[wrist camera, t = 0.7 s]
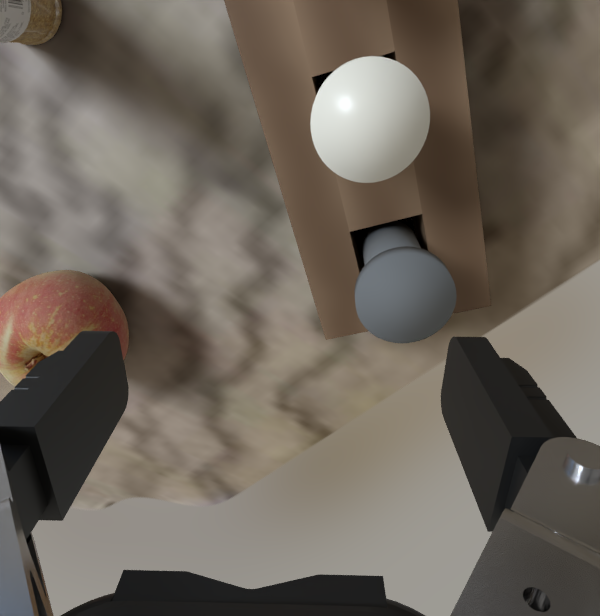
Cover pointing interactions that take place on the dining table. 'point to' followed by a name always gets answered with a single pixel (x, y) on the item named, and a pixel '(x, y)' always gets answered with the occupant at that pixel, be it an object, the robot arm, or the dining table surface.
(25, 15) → the sprinkles bottle
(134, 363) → the dining table surface
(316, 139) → the cream plug
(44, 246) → the dining table surface
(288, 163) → the walnut block
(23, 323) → the apple
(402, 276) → the charcoal plug
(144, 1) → the dining table surface
